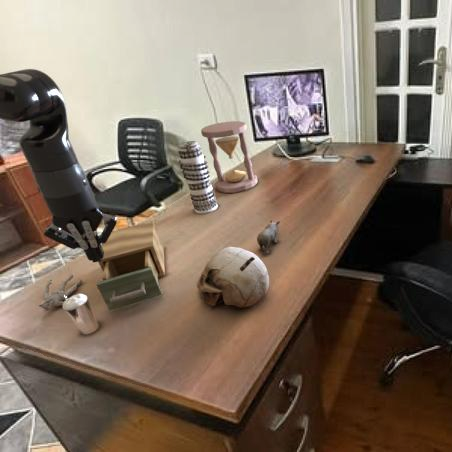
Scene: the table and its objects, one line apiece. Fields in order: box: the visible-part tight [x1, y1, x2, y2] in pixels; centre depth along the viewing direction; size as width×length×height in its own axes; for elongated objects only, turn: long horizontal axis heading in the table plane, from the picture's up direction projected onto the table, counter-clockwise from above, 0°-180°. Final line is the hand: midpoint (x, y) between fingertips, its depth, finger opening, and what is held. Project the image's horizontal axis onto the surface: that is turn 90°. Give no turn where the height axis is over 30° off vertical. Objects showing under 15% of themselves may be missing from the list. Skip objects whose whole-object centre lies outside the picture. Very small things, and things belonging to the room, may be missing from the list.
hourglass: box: [200, 120, 259, 194], centre depth 145 cm, size 18×18×25 cm
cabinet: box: [97, 220, 166, 278], centre depth 97 cm, size 16×13×10 cm
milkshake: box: [60, 293, 99, 335], centre depth 77 cm, size 4×5×10 cm
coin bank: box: [196, 246, 270, 309], centre depth 83 cm, size 16×17×13 cm
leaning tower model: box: [176, 140, 219, 214], centre depth 126 cm, size 9×9×25 cm
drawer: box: [95, 249, 163, 312], centre depth 87 cm, size 19×12×8 cm, turn 25°
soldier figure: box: [38, 274, 83, 311], centre depth 89 cm, size 8×5×12 cm
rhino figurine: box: [256, 219, 281, 255], centre depth 105 cm, size 4×14×6 cm, turn 167°
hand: (97, 259), depth 75 cm, fingers closed
